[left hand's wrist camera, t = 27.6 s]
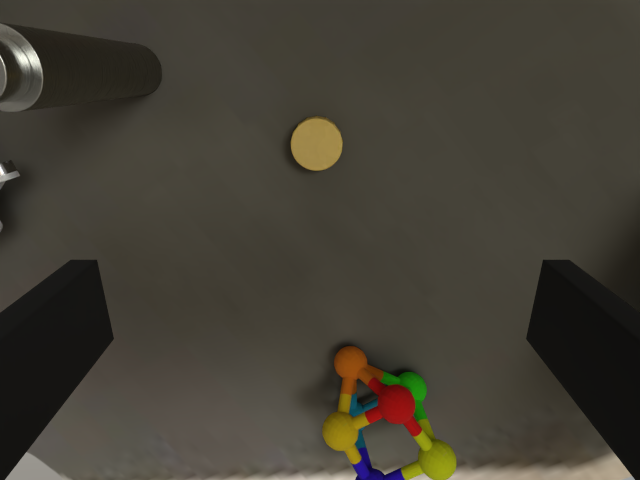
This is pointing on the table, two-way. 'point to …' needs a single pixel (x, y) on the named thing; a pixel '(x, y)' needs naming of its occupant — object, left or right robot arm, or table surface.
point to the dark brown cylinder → (70, 69)
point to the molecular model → (392, 405)
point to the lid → (316, 143)
